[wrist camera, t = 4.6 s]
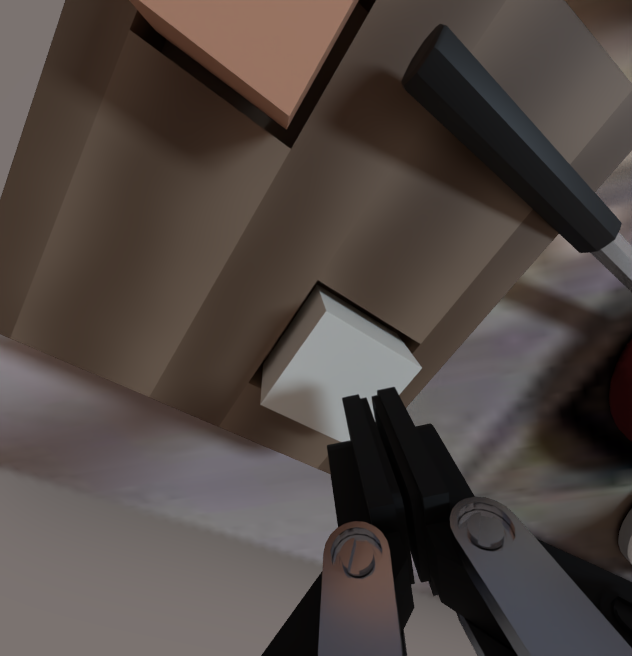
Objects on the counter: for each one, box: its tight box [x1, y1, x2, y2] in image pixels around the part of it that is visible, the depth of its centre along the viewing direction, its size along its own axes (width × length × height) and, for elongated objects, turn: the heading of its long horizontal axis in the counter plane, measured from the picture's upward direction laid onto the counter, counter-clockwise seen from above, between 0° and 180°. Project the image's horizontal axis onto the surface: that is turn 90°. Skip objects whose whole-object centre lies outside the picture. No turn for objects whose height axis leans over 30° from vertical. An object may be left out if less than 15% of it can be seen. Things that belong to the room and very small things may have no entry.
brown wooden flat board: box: [0, 0, 632, 474], centre depth 13 cm, size 16×18×4 cm
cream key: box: [260, 285, 422, 442], centre depth 14 cm, size 4×4×3 cm
